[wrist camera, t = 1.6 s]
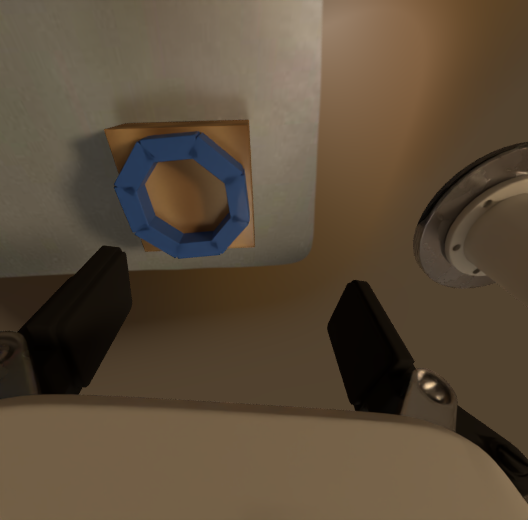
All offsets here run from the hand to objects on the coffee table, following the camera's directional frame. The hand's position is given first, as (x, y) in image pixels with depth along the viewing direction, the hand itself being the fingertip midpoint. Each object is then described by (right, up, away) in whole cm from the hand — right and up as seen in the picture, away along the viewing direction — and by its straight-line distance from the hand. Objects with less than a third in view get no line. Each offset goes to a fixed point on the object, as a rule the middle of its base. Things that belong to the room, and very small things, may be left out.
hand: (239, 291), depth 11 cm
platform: (-6, +9, +15) cm, 18 cm away
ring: (-5, +7, +11) cm, 15 cm away
